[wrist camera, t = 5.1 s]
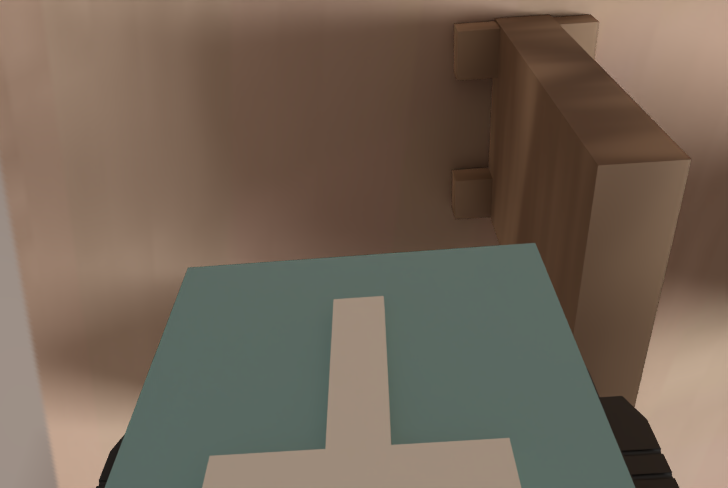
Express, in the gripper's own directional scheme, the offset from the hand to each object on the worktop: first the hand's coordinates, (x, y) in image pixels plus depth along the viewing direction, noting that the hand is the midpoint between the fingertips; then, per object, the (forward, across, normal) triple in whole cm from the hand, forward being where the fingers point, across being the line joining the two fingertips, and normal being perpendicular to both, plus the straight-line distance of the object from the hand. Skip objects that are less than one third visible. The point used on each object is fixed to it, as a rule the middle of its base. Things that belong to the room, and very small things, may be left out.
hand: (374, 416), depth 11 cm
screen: (+17, -6, +2) cm, 18 cm away
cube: (+1, 0, 0) cm, 1 cm away
